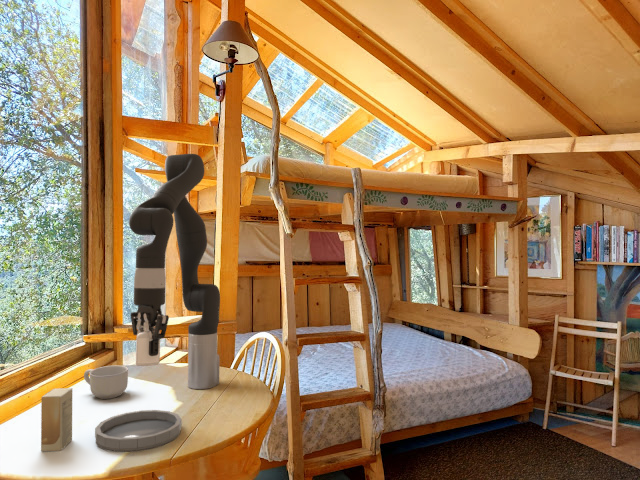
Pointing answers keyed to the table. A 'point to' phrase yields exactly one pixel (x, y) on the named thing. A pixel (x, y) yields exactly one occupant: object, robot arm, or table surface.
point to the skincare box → (56, 419)
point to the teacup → (107, 381)
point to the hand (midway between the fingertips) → (148, 353)
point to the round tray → (138, 430)
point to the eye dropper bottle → (145, 350)
